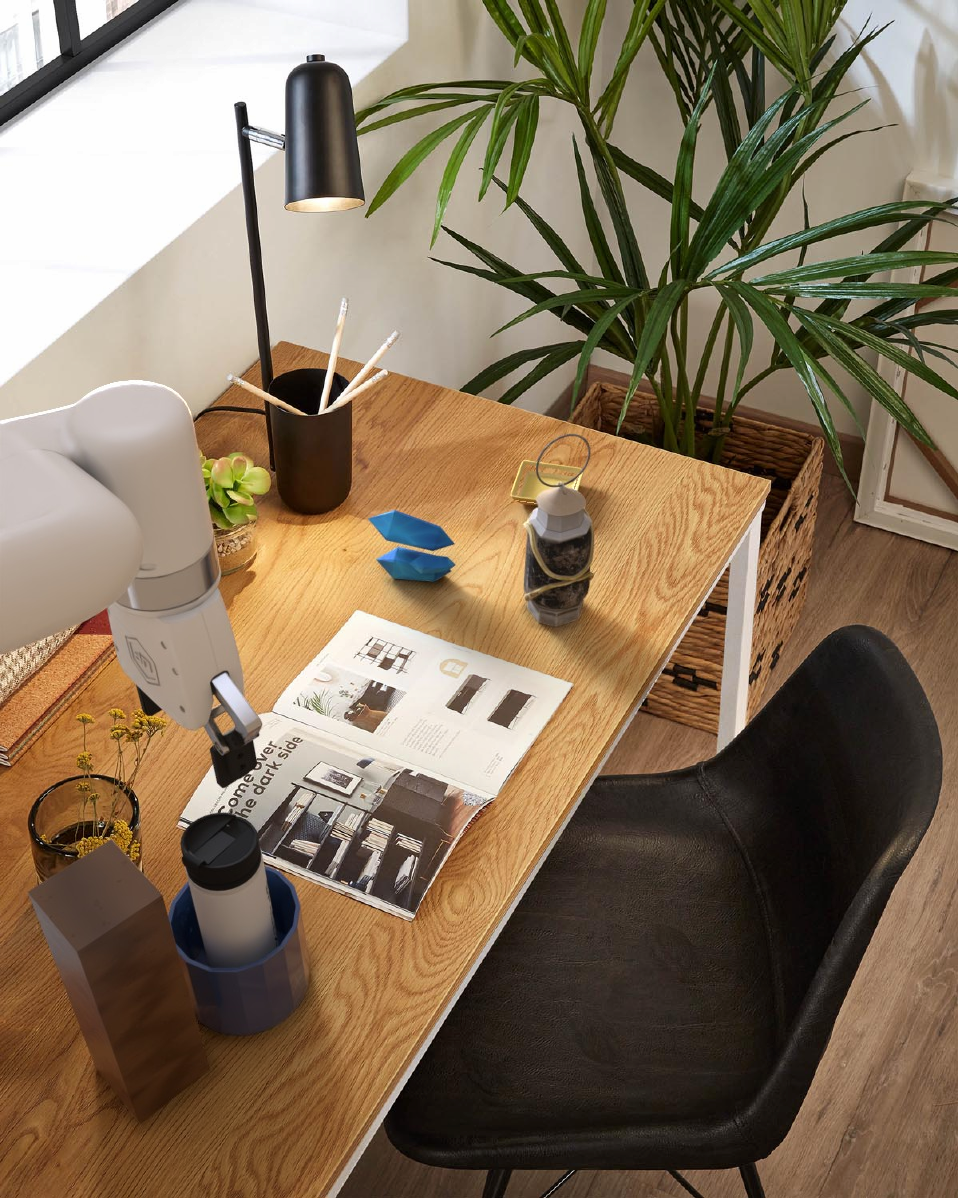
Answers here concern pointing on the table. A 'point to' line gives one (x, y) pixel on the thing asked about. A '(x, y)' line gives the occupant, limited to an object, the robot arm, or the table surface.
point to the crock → (245, 967)
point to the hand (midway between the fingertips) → (199, 739)
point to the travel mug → (229, 889)
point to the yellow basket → (535, 487)
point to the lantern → (558, 552)
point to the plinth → (122, 977)
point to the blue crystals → (417, 535)
